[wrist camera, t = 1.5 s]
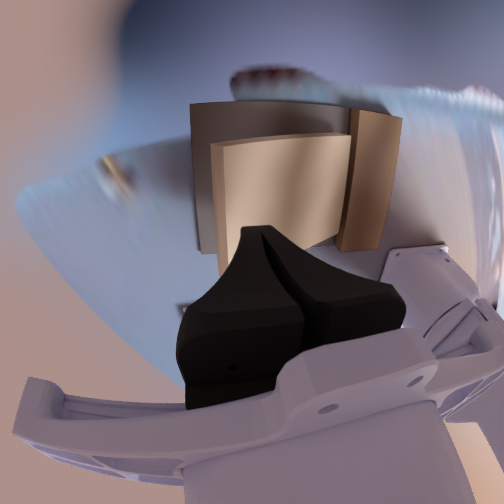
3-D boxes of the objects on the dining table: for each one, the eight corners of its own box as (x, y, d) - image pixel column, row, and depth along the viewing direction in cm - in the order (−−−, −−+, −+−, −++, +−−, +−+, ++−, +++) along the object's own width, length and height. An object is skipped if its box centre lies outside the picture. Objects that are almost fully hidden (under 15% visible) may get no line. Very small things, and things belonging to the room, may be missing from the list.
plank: (337, 132, 18) (351, 135, 17) (327, 227, 22) (338, 233, 21) (210, 143, 13) (223, 146, 12) (218, 274, 17) (229, 284, 16)
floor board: (391, 115, 18) (402, 118, 17) (370, 240, 24) (378, 249, 23) (189, 103, 16) (187, 104, 15) (201, 252, 23) (201, 262, 21)
